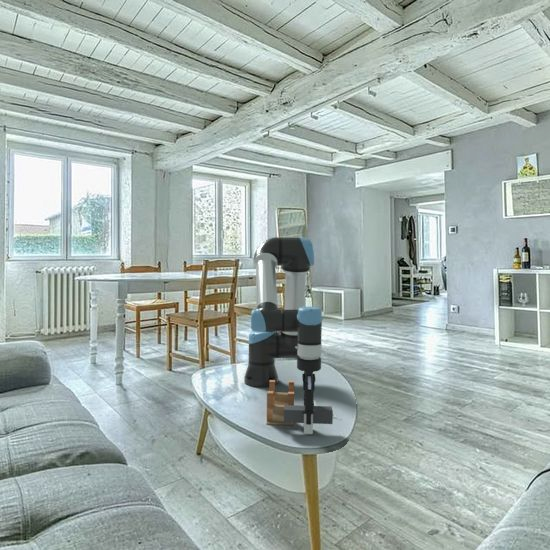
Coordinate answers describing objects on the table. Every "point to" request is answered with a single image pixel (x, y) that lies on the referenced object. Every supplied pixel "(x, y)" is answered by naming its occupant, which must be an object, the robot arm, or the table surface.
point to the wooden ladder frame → (278, 403)
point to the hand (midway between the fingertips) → (307, 429)
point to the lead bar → (295, 414)
